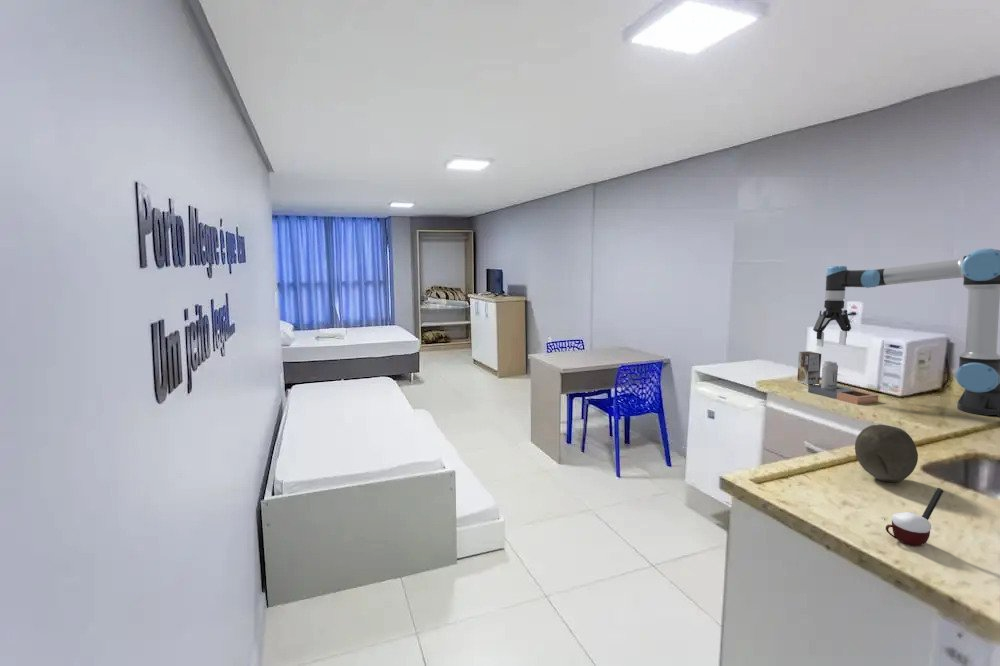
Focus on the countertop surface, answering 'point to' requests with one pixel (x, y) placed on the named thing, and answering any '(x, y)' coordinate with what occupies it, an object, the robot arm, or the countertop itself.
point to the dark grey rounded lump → (886, 452)
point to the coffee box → (809, 367)
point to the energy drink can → (829, 375)
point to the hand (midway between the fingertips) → (831, 345)
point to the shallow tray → (844, 394)
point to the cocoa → (914, 524)
